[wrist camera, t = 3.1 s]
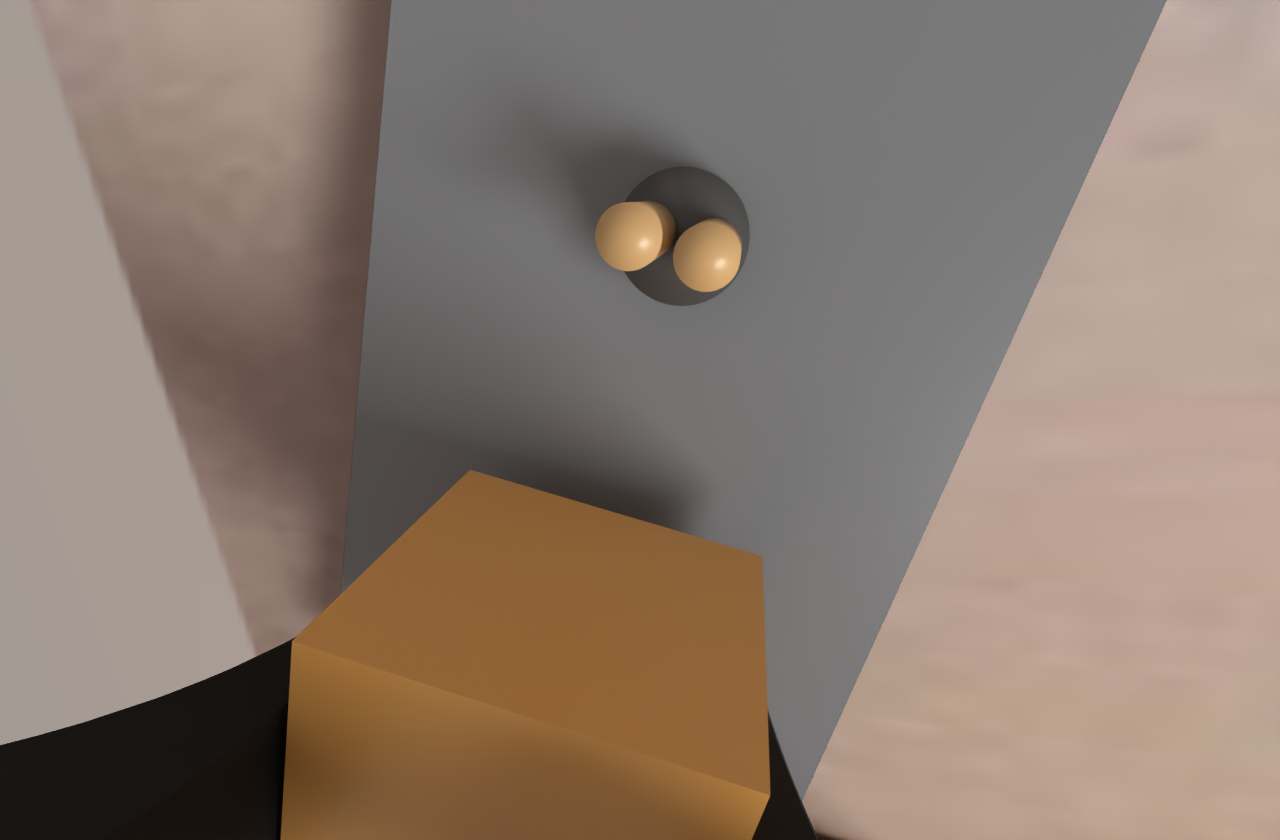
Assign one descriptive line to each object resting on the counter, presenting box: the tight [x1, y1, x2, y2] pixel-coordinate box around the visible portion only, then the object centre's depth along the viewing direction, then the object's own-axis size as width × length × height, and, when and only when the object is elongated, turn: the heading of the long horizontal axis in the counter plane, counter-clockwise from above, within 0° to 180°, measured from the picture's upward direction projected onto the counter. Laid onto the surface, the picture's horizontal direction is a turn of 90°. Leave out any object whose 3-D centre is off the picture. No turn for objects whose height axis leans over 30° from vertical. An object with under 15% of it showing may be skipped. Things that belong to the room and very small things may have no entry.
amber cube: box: [281, 470, 770, 840], centre depth 11 cm, size 6×6×5 cm
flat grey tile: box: [341, 0, 1167, 801], centre depth 13 cm, size 18×12×5 cm, turn 166°
